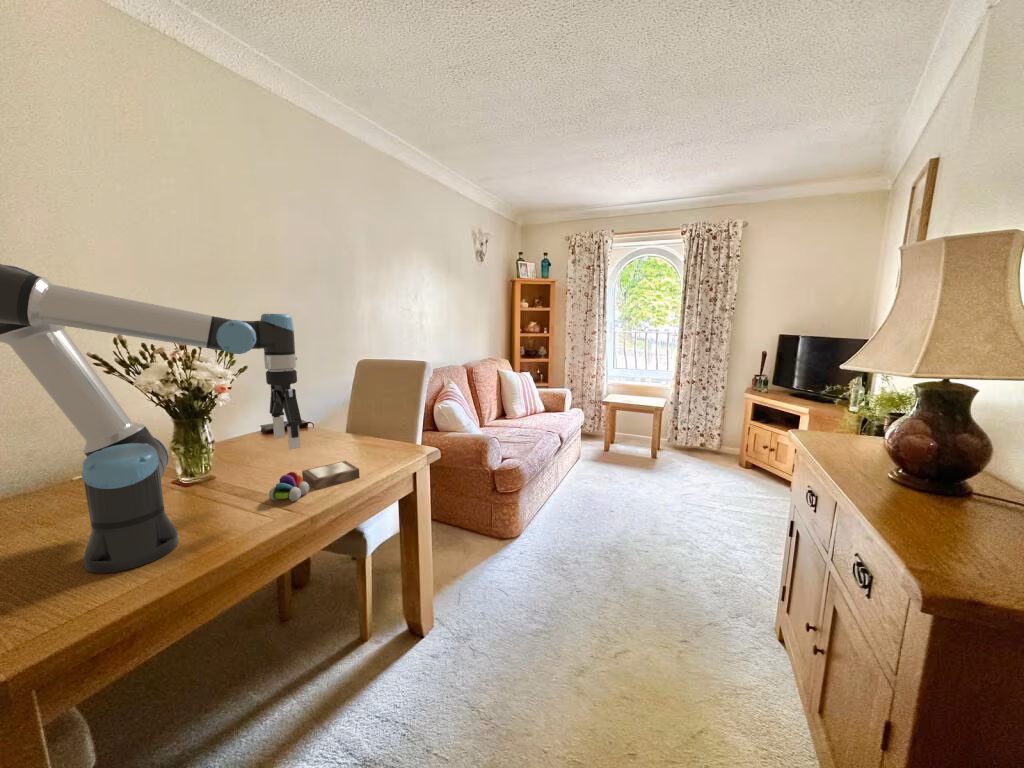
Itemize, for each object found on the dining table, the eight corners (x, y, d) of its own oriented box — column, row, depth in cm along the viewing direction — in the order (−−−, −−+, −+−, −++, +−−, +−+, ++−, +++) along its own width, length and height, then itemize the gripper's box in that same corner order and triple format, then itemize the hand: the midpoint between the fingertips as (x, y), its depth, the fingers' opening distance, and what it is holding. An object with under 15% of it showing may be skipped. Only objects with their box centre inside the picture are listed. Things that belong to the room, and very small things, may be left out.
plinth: (315, 489, 124) (314, 479, 124) (302, 479, 132) (302, 470, 131) (359, 477, 134) (359, 468, 133) (345, 469, 142) (345, 460, 141)
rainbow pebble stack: (313, 491, 123) (311, 468, 122) (293, 505, 114) (291, 480, 113) (287, 489, 124) (285, 467, 123) (265, 503, 115) (263, 479, 113)
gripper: (311, 372, 107) (316, 450, 110) (282, 365, 125) (287, 432, 128) (280, 375, 102) (286, 456, 105) (254, 366, 119) (260, 436, 123)
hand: (286, 443), depth 117 cm, fingers open, 13 cm apart
